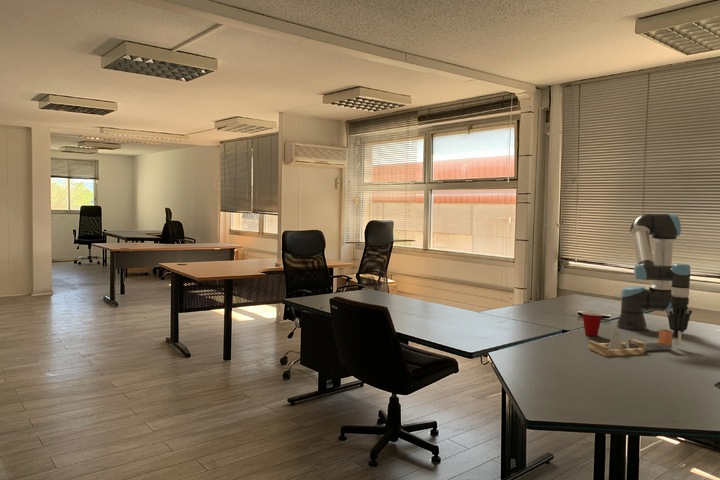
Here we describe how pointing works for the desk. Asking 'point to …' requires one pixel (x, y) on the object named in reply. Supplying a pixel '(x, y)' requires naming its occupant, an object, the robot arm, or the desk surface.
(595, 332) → the plastic cup
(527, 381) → the desk surface
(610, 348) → the flask
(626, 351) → the wooden tray
